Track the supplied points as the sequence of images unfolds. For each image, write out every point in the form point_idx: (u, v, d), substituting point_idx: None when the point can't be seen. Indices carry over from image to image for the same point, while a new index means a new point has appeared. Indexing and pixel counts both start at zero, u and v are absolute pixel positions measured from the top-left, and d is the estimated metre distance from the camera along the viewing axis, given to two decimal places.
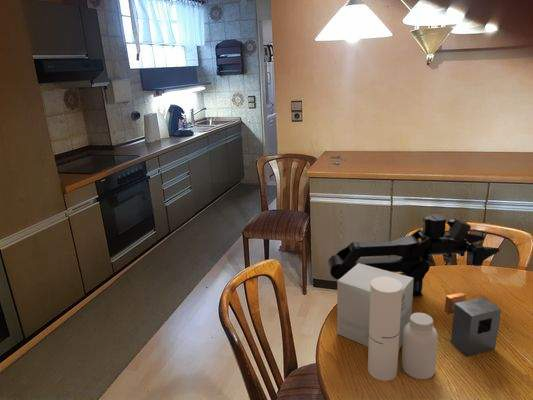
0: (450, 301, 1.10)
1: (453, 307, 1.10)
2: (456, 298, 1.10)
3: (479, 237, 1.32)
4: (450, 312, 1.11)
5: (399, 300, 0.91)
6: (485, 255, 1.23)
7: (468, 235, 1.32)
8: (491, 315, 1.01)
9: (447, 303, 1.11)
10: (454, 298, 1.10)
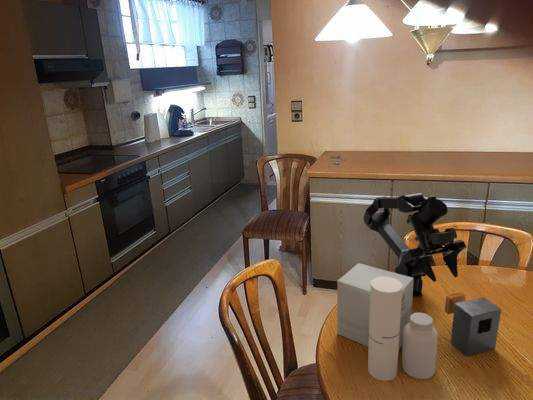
0: (450, 301, 1.10)
1: (453, 307, 1.10)
2: (456, 298, 1.10)
3: (454, 271, 1.16)
4: (450, 312, 1.11)
5: (399, 300, 0.91)
6: (422, 267, 1.16)
7: (452, 260, 1.17)
8: (491, 315, 1.01)
9: (447, 303, 1.11)
10: (454, 298, 1.10)
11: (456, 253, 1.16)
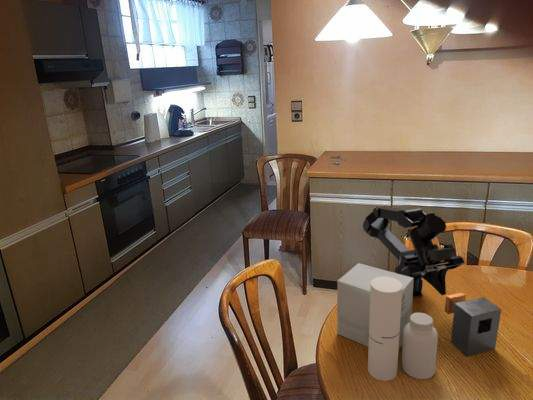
0: (450, 301, 1.10)
1: (453, 307, 1.10)
2: (456, 298, 1.10)
3: None
4: (450, 312, 1.11)
5: (399, 300, 0.91)
6: (431, 281, 1.19)
7: (440, 277, 1.17)
8: (491, 315, 1.01)
9: (447, 303, 1.11)
10: (454, 298, 1.10)
11: (444, 271, 1.17)
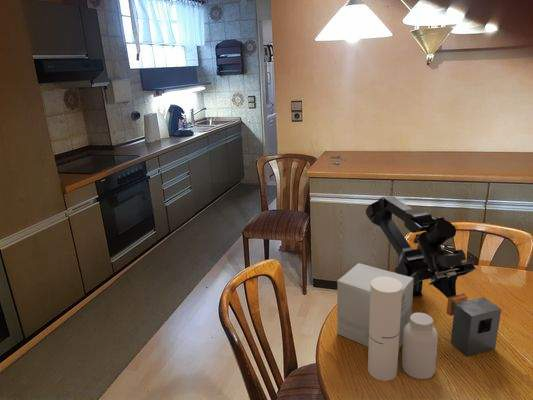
0: (452, 302, 1.09)
1: None
2: (458, 299, 1.09)
3: None
4: (452, 314, 1.10)
5: (399, 300, 0.91)
6: (440, 287, 1.14)
7: (450, 284, 1.13)
8: (491, 315, 1.01)
9: (449, 305, 1.10)
10: (456, 299, 1.09)
11: (455, 277, 1.13)
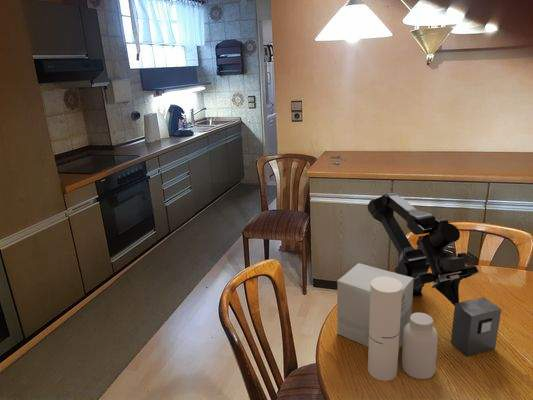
0: None
1: None
2: None
3: None
4: None
5: (399, 300, 0.91)
6: (443, 291, 1.13)
7: (453, 287, 1.12)
8: (491, 315, 1.01)
9: None
10: None
11: (458, 281, 1.12)
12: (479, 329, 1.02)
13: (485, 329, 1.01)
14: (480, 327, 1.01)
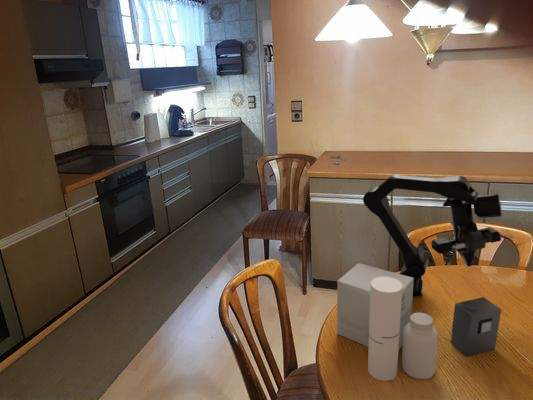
0: None
1: None
2: None
3: None
4: None
5: (399, 300, 0.91)
6: (460, 251, 1.21)
7: (470, 252, 1.19)
8: (491, 315, 1.01)
9: None
10: None
11: (476, 248, 1.18)
12: (479, 329, 1.02)
13: (485, 329, 1.01)
14: (480, 327, 1.01)
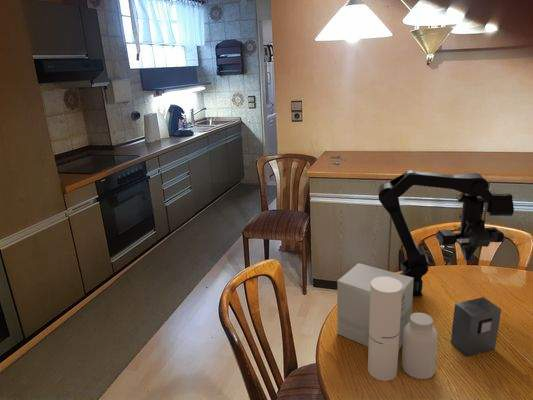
0: None
1: None
2: None
3: None
4: None
5: (399, 300, 0.91)
6: (461, 245, 1.25)
7: (471, 247, 1.23)
8: (491, 315, 1.01)
9: None
10: None
11: None
12: (479, 329, 1.02)
13: (485, 329, 1.01)
14: (480, 327, 1.01)
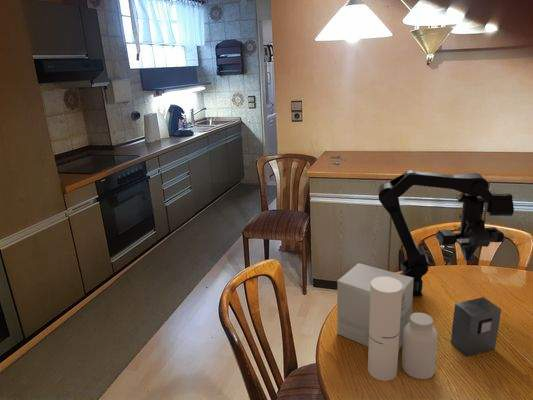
0: None
1: None
2: None
3: None
4: None
5: (399, 300, 0.91)
6: (461, 245, 1.25)
7: (471, 247, 1.23)
8: (491, 315, 1.01)
9: None
10: None
11: None
12: (479, 329, 1.02)
13: (485, 329, 1.01)
14: (480, 327, 1.01)
